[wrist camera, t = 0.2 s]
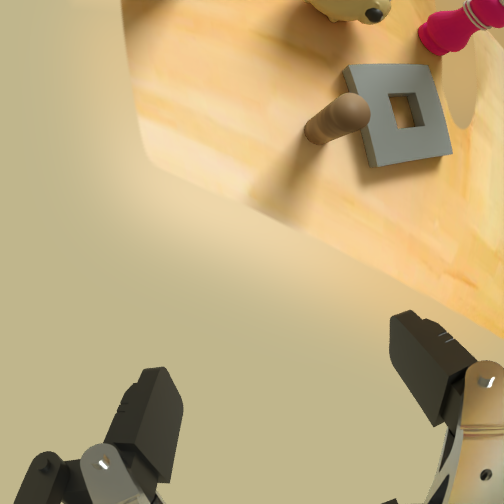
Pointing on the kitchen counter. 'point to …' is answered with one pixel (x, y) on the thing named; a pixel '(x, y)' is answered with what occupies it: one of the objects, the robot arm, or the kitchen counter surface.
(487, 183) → the kitchen counter surface
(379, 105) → the socket
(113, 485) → the robot arm
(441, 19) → the pepper mill
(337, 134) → the pin
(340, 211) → the kitchen counter surface
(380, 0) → the beige animal figure
